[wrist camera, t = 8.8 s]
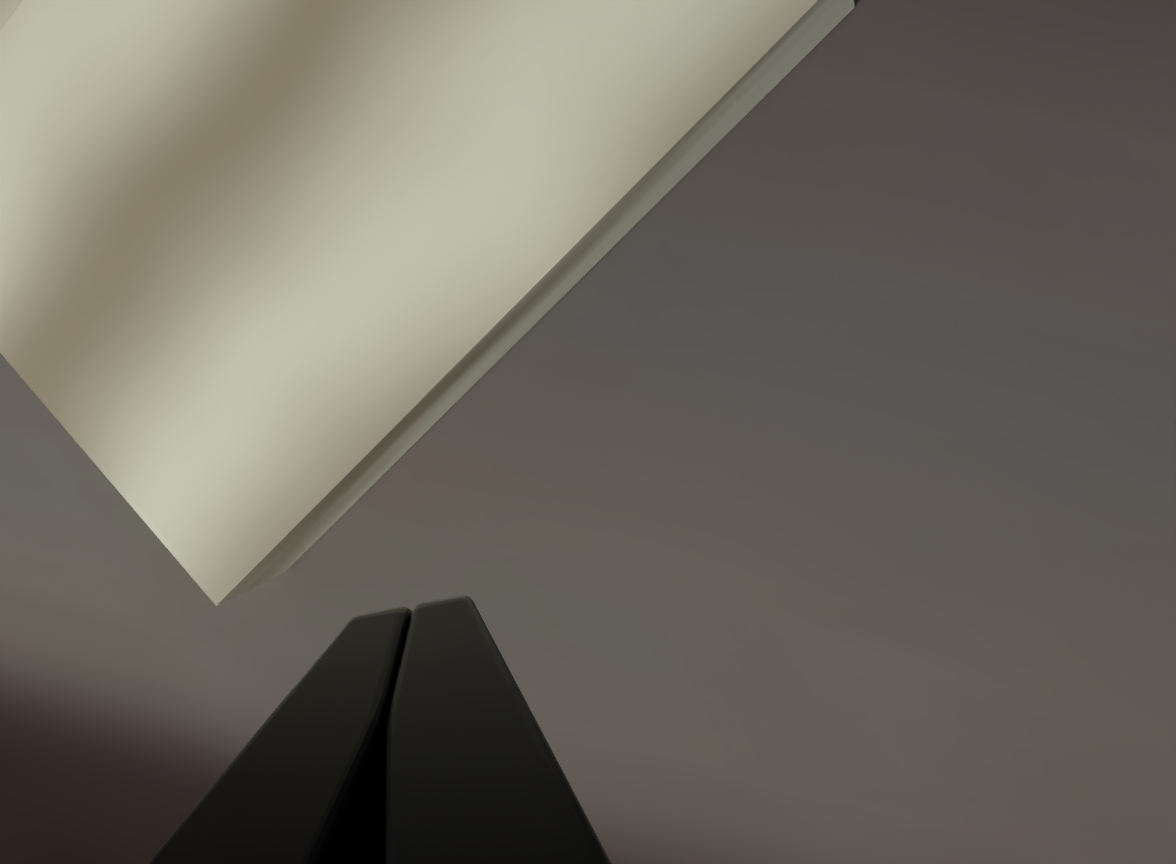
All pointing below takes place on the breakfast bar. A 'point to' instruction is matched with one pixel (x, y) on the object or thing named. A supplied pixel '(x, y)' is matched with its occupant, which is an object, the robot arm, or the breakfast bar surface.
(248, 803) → the robot arm
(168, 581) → the breakfast bar surface
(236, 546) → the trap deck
